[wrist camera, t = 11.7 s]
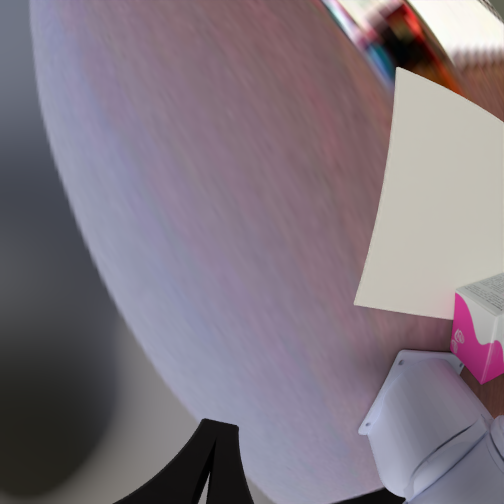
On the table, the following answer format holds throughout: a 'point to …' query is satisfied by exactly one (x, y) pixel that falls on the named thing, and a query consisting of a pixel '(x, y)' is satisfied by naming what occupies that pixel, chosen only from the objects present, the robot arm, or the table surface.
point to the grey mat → (435, 202)
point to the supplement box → (480, 328)
